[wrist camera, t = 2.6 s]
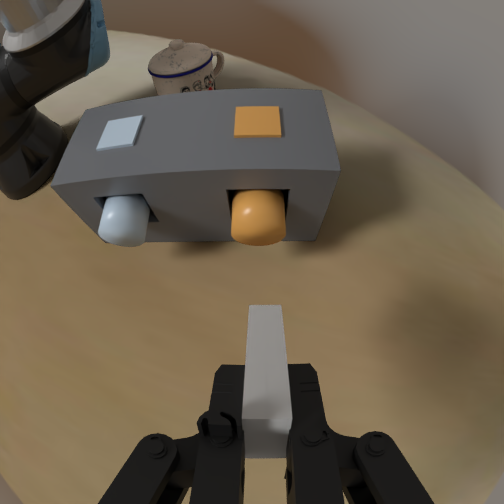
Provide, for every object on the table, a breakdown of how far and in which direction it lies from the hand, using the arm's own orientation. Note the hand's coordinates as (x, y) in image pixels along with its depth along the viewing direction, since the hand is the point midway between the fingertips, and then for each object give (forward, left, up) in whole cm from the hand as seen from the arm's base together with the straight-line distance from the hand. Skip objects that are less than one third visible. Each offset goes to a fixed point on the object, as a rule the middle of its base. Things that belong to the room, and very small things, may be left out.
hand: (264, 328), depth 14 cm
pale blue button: (-12, -10, -9) cm, 18 cm away
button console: (-17, -3, -14) cm, 22 cm away
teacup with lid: (-37, -3, -14) cm, 40 cm away
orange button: (-10, +1, -9) cm, 14 cm away
